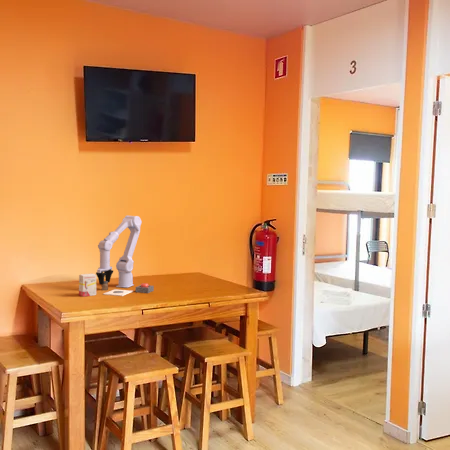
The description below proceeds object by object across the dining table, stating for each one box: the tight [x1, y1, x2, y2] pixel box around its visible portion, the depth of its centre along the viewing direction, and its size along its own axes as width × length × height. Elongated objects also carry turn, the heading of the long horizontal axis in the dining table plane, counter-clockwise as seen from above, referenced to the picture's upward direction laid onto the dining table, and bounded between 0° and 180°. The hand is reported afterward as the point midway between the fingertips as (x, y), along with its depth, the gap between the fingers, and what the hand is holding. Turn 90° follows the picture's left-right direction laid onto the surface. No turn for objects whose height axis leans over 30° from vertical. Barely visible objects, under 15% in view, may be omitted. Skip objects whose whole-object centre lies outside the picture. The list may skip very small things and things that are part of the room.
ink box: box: [78, 273, 97, 298], centre depth 306 cm, size 9×5×12 cm, turn 131°
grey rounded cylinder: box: [101, 280, 109, 291], centre depth 323 cm, size 4×4×5 cm
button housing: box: [135, 284, 154, 294], centre depth 320 cm, size 8×8×3 cm
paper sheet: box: [102, 288, 134, 297], centre depth 314 cm, size 14×12×1 cm
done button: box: [140, 282, 149, 287], centre depth 320 cm, size 4×4×2 cm
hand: (104, 283), depth 323 cm, fingers open, 7 cm apart
